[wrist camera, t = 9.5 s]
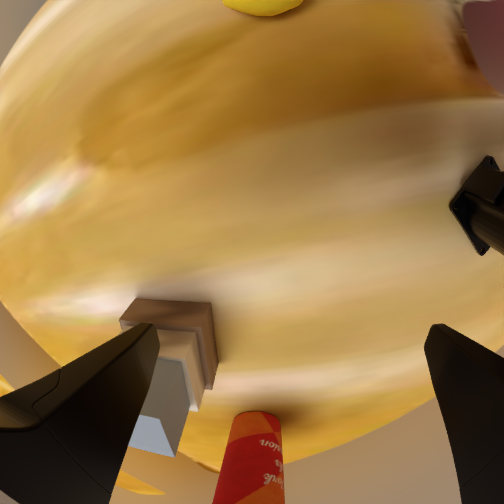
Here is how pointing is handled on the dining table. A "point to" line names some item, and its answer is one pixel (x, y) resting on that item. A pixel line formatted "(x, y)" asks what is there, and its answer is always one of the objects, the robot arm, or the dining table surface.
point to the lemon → (262, 6)
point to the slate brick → (163, 410)
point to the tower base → (179, 321)
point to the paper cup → (252, 462)
